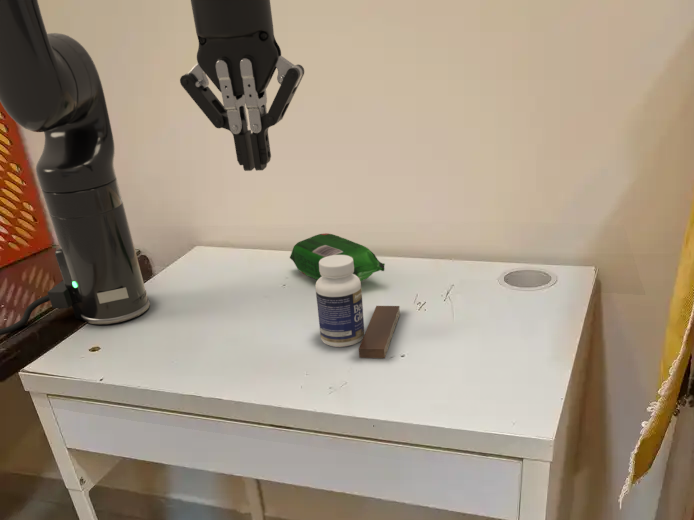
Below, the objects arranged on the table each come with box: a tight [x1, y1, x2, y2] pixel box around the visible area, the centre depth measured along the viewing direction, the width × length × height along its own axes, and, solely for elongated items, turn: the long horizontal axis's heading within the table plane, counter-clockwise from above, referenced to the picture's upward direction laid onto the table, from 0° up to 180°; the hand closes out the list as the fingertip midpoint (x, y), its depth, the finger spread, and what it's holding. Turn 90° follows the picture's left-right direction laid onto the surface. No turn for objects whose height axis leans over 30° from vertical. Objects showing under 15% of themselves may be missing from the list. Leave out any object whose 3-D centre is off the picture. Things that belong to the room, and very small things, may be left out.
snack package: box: [289, 232, 386, 282], centre depth 102 cm, size 7×16×5 cm, turn 35°
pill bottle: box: [314, 255, 365, 348], centre depth 85 cm, size 5×5×10 cm
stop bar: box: [358, 305, 401, 359], centre depth 88 cm, size 3×12×1 cm, turn 168°
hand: (255, 168), depth 78 cm, fingers closed
